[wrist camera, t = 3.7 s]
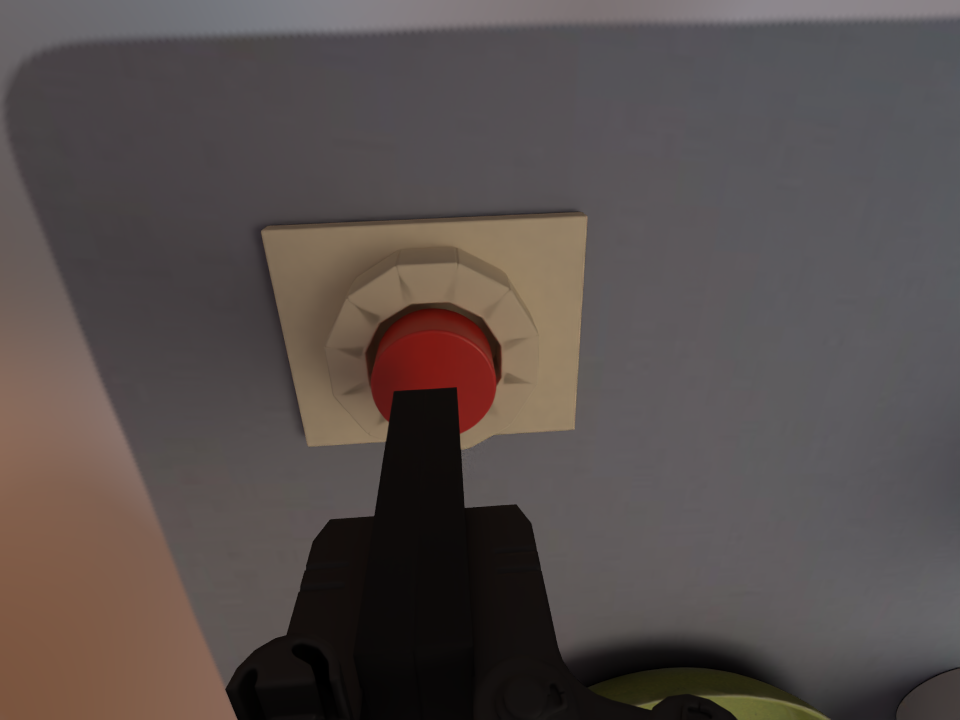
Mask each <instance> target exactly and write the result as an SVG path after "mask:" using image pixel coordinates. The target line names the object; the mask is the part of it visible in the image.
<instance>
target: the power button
mask: <svg viewBox="0 0 960 720" xmlns="http://www.w3.org/2000/svg"><path fill="white" fill-rule="evenodd" d="M496 385H497V382H496V374H495V369H494V364H493V358H492V353H491V349H490V345H489V343H488V340H487V338H486V337H485V335H484V333H483V332H482V331H481V329H480V328H479V327H478V326H477V325H476V324H475V323H474V322H473V321H471V320H470V319H468V318H467V317H465V316H463V315H461V314H459V313H457V312H454V311H450V310H446V309H439V308H429V309H422V310H418V311H414V312H411V313H409V314H407V315H405V316H403V317H401V318H400V319H398V320H397V321H395V322H394V323H393V324H392V325H391V326H390V327H389V328H388V330H387V331H386V332H385V334H384V335H383V337H382V339H381V341H380V344H379V347H378V351H377V355H376V359H375V363H374V367H373V371H372V375H371V392H372V397H373V400H374V402H375V405H376V407H377V408H378V410H379V412H380V413H381V414H382V416H383V417H384V418H385V419H386V420H387V421H388V422H389V418H390V412H391V405H392V399H393V392H394V391H402V390H418V389H435V388H451V387H457V394H458V410H459V427H460V434H461V433H463V432H465V431H467V430H469V429H470V428H472V427H474V426H475V425H476V424H477V423H478V422H480V420H481V419H482V418H483V417H484V416H485V415H486V413H487V412H488V411H489V409H490V407H491V405H492V403H493V400H494V398H495V393H496Z"/></svg>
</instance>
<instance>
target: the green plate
mask: <svg viewBox="0 0 960 720" xmlns="http://www.w3.org/2000/svg"><path fill="white" fill-rule="evenodd" d="M587 688H588V689H590V690H591V691H593V692H594V693H596V694H598V695H601V696H603V697H606V698H608V699H611V700H614V701H618V702H622V703H626V704H630V705H634V706H637V707H641V708H645V709H649V710H652V708H653V707H654V706H655V705H656V704H658V703H659V702H661V701H662V700H663V699H665V698H666V697H668V696H674V695H681V694H691V695H695V696H699V697H703V698H707V699H710V700H712V701H713V702H715V703H716V704H718V705H720V706H721V707H723V708H725V709H726V710H728V711H730V712H731V713H732V714H733V715H734V716H735V717H736V718H737V719H738V720H831V719H830V718H828V717H827V716H826V715H824V714H823V713H821V712H820V711H818V710H817V709H815V708H814V707H812V706H811V705H809V704H808V703H806V702H804V701H802V700H801V699H799V698H797V697H795V696H793V695H791V694H789V693H787V692H785V691H783V690H781V689H778V688H776V687H774V686H772V685H769V684H767V683H764V682H761V681H758V680H756V679H753V678H750V677H746V676H743V675H739V674H736V673H731V672H726V671H721V670H714V669H707V668H663V669H655V670H647V671H640V672H636V673H631V674H627V675H623V676H619V677H615V678H612V679H609V680H606V681H603V682H600V683H598V684H595V685H593V686H590V687H587Z"/></svg>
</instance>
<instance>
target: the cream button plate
mask: <svg viewBox="0 0 960 720" xmlns="http://www.w3.org/2000/svg"><path fill="white" fill-rule="evenodd" d="M586 234H587V216H586V215H585V214H584V213H582V212H567V213H544V214H522V215H499V216H477V217H454V218H432V219H409V220H387V221H364V222H342V223H319V224H297V225H274V226H267V227H265V228H264V229H263V230H261V235H262V240H263V245H264V249H265V254H266V258H267V263H268V267H269V272H270V277H271V281H272V286H273V290H274V295H275V299H276V304H277V309H278V313H279V318H280V322H281V327H282V331H283V336H284V340H285V345H286V350H287V354H288V359H289V363H290V368H291V372H292V377H293V382H294V386H295V391H296V395H297V400H298V404H299V409H300V414H301V418H302V423H303V427H304V432H305V436H306V441H307V445H308V446H309V447H311V446H327V445H342V444H358V443H374V442H386V438H387V431H388V425H389V422H388V421H387V420H386V419H385V418H384V417H383V416H382V414H381V413H380V412H379V410H378V408H377V407H376V405H375V402H374V400H373V397H372V392H371V375H372V371H373V367H374V363H375V359H376V355H377V351H378V347H379V344H380V341H381V339H382V337H383V335H384V334H385V332H386V331H387V330H388V328H389V327H390V326H391V325H392V324H393V323H394V322H395V321H397V320H398V319H400V318H401V317H403V316H405V315H407V314H409V313H411V312H414V311H418V310H422V309H429V308H439V309H446V310H450V311H454V312H457V313H459V314H461V315H463V316H465V317H467V318H468V319H470V320H471V321H473V322H474V323H475V324H476V325H477V326H478V327H479V328H480V329H481V331H482V332H483V333H484V335H485V337H486V338H487V340H488V343H489V345H490V349H491V353H492V358H493V364H494V369H495V374H496V382H497V385H496V393H495V398H494V400H493V403H492V405H491V407H490V409H489V411H488V412H487V413H486V415H485V416H484V417H483V418H482V419H481V420H480V422H478V423H477V424H476V425H475V426H474V427H472V428H470V429H469V430H467V431H465V432H463V433H461V434H460V443H461V450H462V449H466V448H467V449H469V448H471V447H472V446H474V445H476V444H478V443H480V442H481V441H483V440H485V439H487V438H489V437H491V436H492V435H500V434H516V433H531V432H547V431H563V430H574V428H575V412H576V396H577V379H578V363H579V347H580V331H581V315H582V298H583V282H584V266H585V250H586Z"/></svg>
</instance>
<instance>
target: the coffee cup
mask: <svg viewBox="0 0 960 720" xmlns="http://www.w3.org/2000/svg"><path fill="white" fill-rule="evenodd" d="M896 720H960V668H959V669H955V670H952V671H949V672H946V673H943V674H941V675H938V676H936V677H934V678H932V679H930V680H928V681H926V682H924V683H923V684H921V685H920V686H918V687H917V688H915V689H914V690H913V691H912V692H910V693H909V694H908V695H907V696H906V697H905V698H904V699H903V701H902V702H901V704H900V705H899V707H898V709H897V713H896Z"/></svg>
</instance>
